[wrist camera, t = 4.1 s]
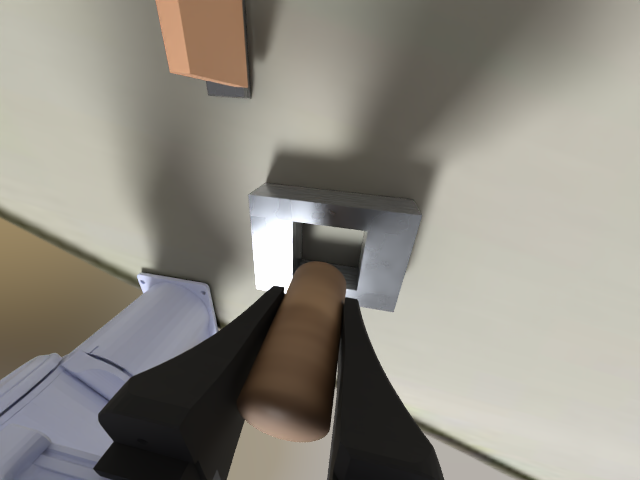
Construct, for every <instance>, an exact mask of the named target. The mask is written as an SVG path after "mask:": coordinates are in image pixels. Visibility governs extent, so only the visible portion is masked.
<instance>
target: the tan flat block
mask: <svg viewBox="0 0 640 480" xmlns="http://www.w3.org/2000/svg"><path fill="white" fill-rule="evenodd" d="M156 5H157V10H158V15H159V20H160V25H161V30H162V35H163V40H164V45H165V50H166V55H167V60H168V65H169V70H170V73H174V74H179V75H183V76H188V77H192V78H197V79H202V80H206V81H211V82H215V83H220V84H224V85H229V86H234V87H245V88H248V79H247V65H246V51H245V37H244V23H243V8H242V0H156Z"/></svg>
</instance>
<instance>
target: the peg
mask: <svg viewBox="0 0 640 480" xmlns="http://www.w3.org/2000/svg"><path fill="white" fill-rule="evenodd" d="M345 295H346V281H345V278H344V276H343V274H342V273H341V272H340V271H339V270H338V269H337V268H335V267H334V266H332V265H330V264H328V263H325V262H319V261H313V262H308V263H305V264H303V265H301V266H300V267H299V268H298V269H297V270H296V271H295V273H294V275H293V278H292V280H291V282H290V284H289V286H288V289H287V291H286V293H285V295H284V297H283V300H282V302H281V304H280V306H279V308H278V311H277V313H276V315H275V317H274V319H273V322H272V324H271V326H270V328H269V331H268V333H267V335H266V337H265V339H264V342H263V344H262V346H261V348H260V350H259V353H258V355H257V357H256V359H255V361H254V364H253V366H252V368H251V370H250V372H249V375H248V377H247V379H246V381H245V384H244V386H243V388H242V390H241V392H240V395H239V397H238V399H237V408H238V411H239V413H240V414H241V416H242V417H243V418H244V419H245V420H246V421H247V422H248V423H249V424H251V425H252V426H253V427H255V428H256V429H258V430H260V431H262V432H264V433H266V434H268V435H271V436H273V437H276V438H279V439H283V440H287V441H293V442H312V441H316V440H319V439H322V438H323V437H325V436H326V435H327V433H328V432H329V430H330V423H331V415H332V407H333V398H334V390H335V381H336V372H337V364H338V355H339V347H340V338H341V330H342V317H343V308H344V301H345Z"/></svg>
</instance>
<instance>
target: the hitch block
mask: <svg viewBox="0 0 640 480" xmlns="http://www.w3.org/2000/svg"><path fill="white" fill-rule="evenodd" d="M248 196H249V208H250V220H251V231H252V243H253V254H254V266H255V277H256V289H260V290H266V291H268V290H269V289H270V288H271V287H272V286H273V285H277V286H283V287H285V293H286V291H287V289H288V286H289V284H290V282H291V280H292V278H293V275H294V273H295V271H296V270H297V269H298V268H299V267H300V266H301V265H303V264H305V263H308V262H313V261H309V260H303V259H301V254H302V223H309V224H317V225H324V226H332V227H340V228H347V229H355V230H362V231H364V236H363V242H362V248H361V254H360V259H359V265H358V268H356V267H349V266H342V265H336V264H330V265H332V266H334V267H335V268H337V269H338V270H339V271H340V272H341V273H342V274H343V276H344V278H345V281H346V295H345V297H348V298H354V299H357V300H358V301H359V306H360V307H366V308H372V309H378V310H383V311H389V312H394V309H395V305H396V302H397V299H398V295H399V292H400V288H401V285H402V282H403V278H404V275H405V272H406V268H407V265H408V262H409V258H410V255H411V251H412V248H413V245H414V241H415V238H416V235H417V231H418V228H419V224H420V221H421V218H422V214H421V213H420V211H419V209H418V207H417V205H416V203H415V202H414V200H412V199H404V198H395V197H386V196H377V195H368V194H360V193H351V192H342V191H333V190H324V189H315V188H307V187H298V186H289V185H280V184H271V183H264V184H263V185H261V186H260V187H259V188H257V189H256V190H254V191H253V192H251V193H250V194H248ZM328 264H329V263H328Z"/></svg>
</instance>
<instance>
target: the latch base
mask: <svg viewBox="0 0 640 480" xmlns="http://www.w3.org/2000/svg"><path fill="white" fill-rule="evenodd" d="M242 8H243V23H244V37H245V51H246V65H247V79H248V88H245V87H234V86H229V85H224V84H220V83H215V82H211V81H206V83H207V90H208V95H211V96H221V97H236V98H250V99H251V90H250V75H249V60H248V45H247V30H246V15H245V1H244V0H242Z"/></svg>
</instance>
